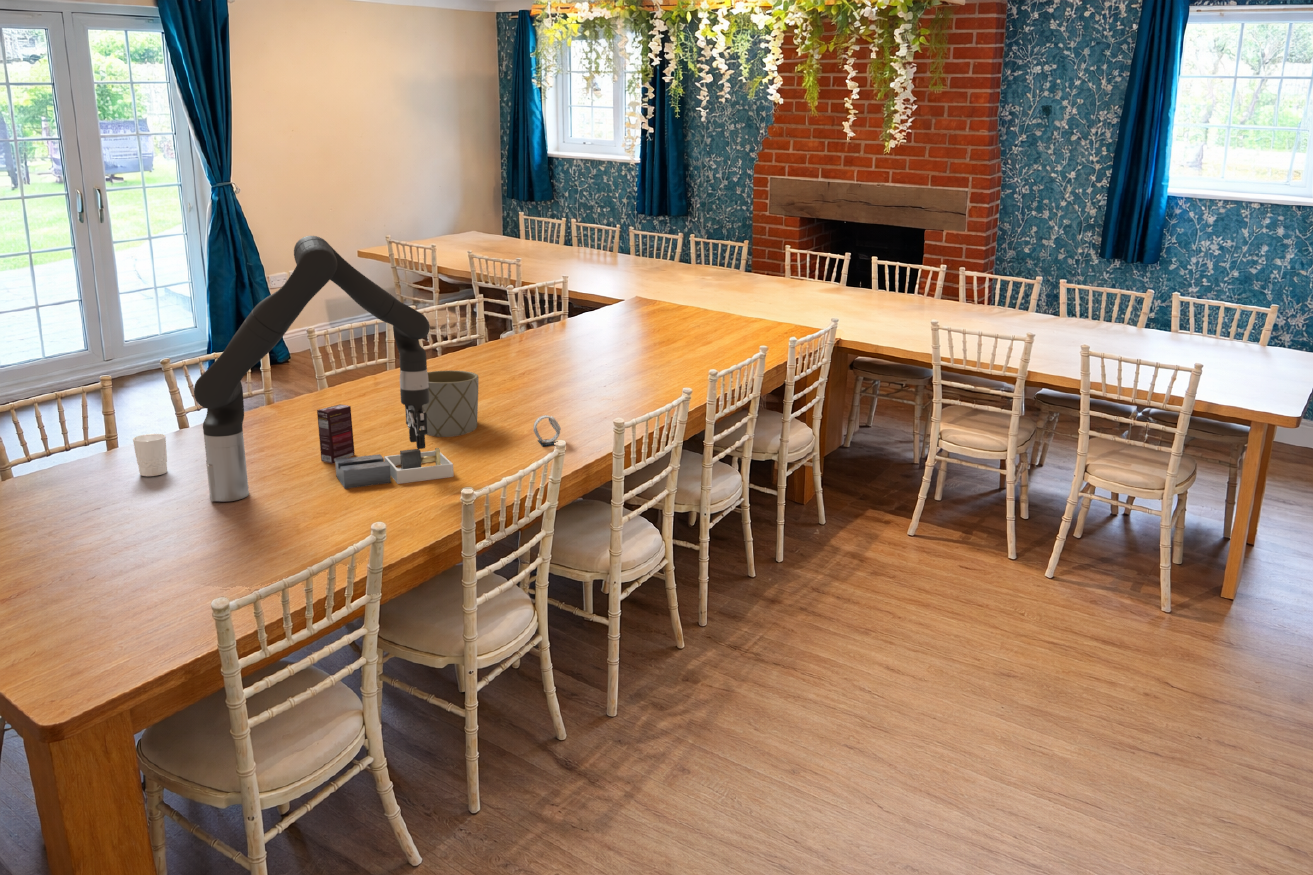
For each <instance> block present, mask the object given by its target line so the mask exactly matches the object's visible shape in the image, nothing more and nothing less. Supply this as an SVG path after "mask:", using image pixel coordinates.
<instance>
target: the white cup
mask: <svg viewBox="0 0 1313 875" xmlns="http://www.w3.org/2000/svg"><path fill="white" fill-rule="evenodd" d="M166 438H167V437H166V435H165V434H163V433H147V434H142V435H138V436H134V437H133V438H132V443H133V447H134V453H135V458H136V463H137V466H138V472H139V475H140V476H142V477H154V476H161V475H164V474H166V473H167V472H168V464H167V463H168V455H167V440H166Z"/></svg>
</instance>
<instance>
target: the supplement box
mask: <svg viewBox="0 0 1313 875" xmlns="http://www.w3.org/2000/svg"><path fill="white" fill-rule="evenodd" d="M351 408H352V406H351V405H346V404H340V403H339V404H337V405H331V406H328V407H323V408H320V409H317V410H316V413H317V414H316V415H317V423H318V424H317V426H318V427H317V428H318V436H319V450H320V459H321V462H324V463H327V464H328V463H329V464H332V465H335V459H343V458H351V457H352V456H353V457H354V456H355V455H354V454H355V445H354V443H355V442H354V432H353V431H354V430H353V421H352V419H353V418H352V409H351Z"/></svg>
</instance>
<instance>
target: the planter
mask: <svg viewBox="0 0 1313 875" xmlns="http://www.w3.org/2000/svg"><path fill="white" fill-rule="evenodd" d="M427 373H428V381H429V403H427V404H424V405H423V406H422V408H423V410H424V412H425V413H426V414H427V432H428V433H427V434H426V435H428V436H429V437H430V436H431V437H440V438H451V437H458V436H459V437H460V436H464V435H467V434H469V433H471V432H474V431H475V430H476V429H477V427H478V410H479V409H478V408H479V375H478V373H475V372H472V371H465V370H450V369H449V370H435V371H427ZM420 430H422V428H421V427H420Z"/></svg>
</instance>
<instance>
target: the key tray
mask: <svg viewBox="0 0 1313 875" xmlns="http://www.w3.org/2000/svg"><path fill="white" fill-rule="evenodd" d="M427 456H435V450H430V451H429V450H428V451H421V457H427ZM383 458H384V461H386V462H387V463H388V464H389V465H390V475H391V479H393V480H394V481H395V483H396V484H398V485H399V484H407V483H415V482H422V481H432V480H438V479H446V478H447V479H448V478H453V477H454V476H455V475H454V463H453V462H452V461H451V460H449V459H448V458H447V457H446V455H443V453H442V452H440V463H441V465H436V464H435V465H429V466H421V467H419V468H411V469H403V470H401V467H396V466H401V459H400V454H394V455H393V454H391V455H385V456H383Z"/></svg>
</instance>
